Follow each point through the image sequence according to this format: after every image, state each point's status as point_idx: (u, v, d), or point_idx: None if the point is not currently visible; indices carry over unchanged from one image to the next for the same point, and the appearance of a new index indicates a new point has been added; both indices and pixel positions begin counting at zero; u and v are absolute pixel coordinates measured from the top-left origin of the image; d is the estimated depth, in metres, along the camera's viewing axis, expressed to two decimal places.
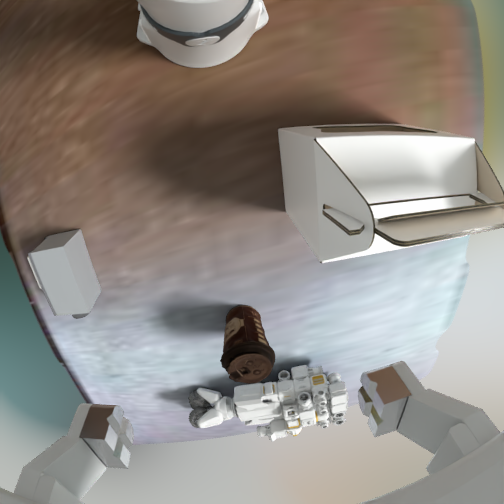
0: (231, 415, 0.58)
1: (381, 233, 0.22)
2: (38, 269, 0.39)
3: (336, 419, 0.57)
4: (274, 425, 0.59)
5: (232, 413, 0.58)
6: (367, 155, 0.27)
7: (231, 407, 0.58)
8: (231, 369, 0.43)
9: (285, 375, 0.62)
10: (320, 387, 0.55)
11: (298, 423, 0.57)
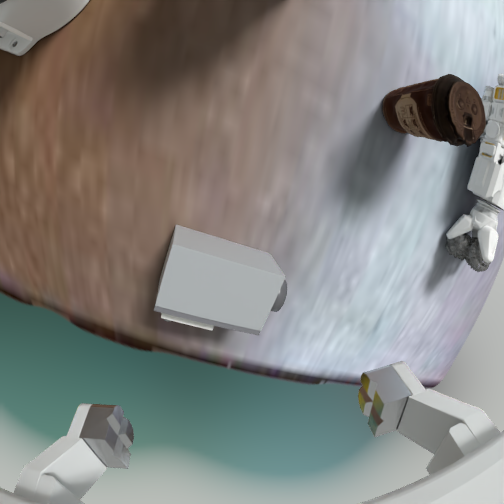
0: (495, 216, 0.36)
1: None
2: (183, 309, 0.31)
3: None
4: None
5: (494, 213, 0.36)
6: None
7: (487, 209, 0.36)
8: (460, 129, 0.23)
9: None
10: None
11: None
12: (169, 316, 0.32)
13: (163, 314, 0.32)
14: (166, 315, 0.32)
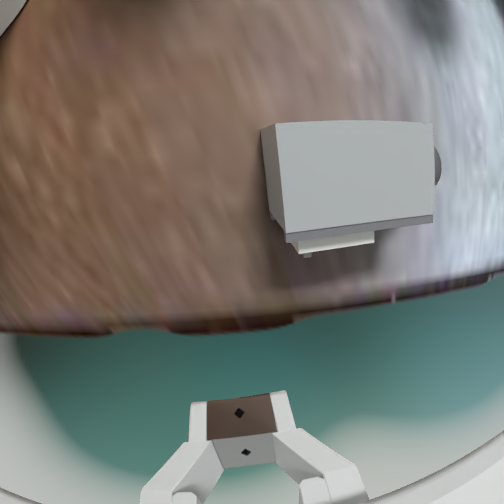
0: None
1: None
2: (328, 221, 0.20)
3: None
4: None
5: None
6: None
7: None
8: None
9: None
10: None
11: None
12: (310, 246, 0.21)
13: (300, 246, 0.21)
14: (305, 246, 0.21)
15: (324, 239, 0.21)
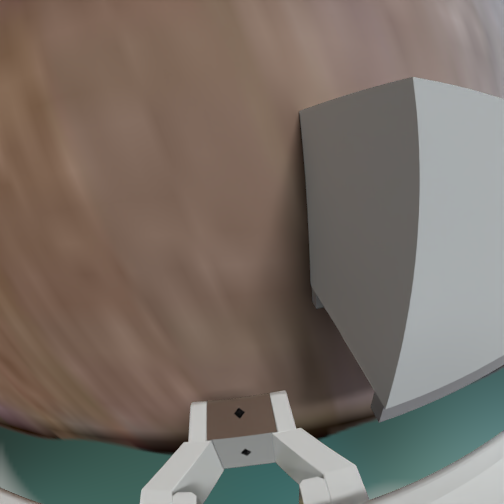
0: None
1: None
2: (475, 362, 0.06)
3: None
4: None
5: None
6: None
7: None
8: None
9: None
10: None
11: None
12: None
13: None
14: None
15: None
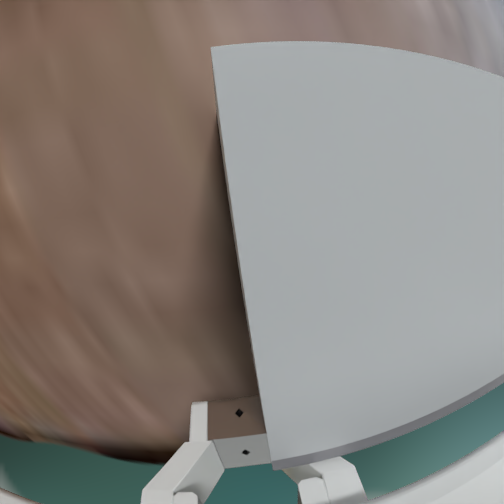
0: None
1: None
2: (404, 415, 0.05)
3: None
4: None
5: None
6: None
7: None
8: None
9: None
10: None
11: None
12: None
13: None
14: None
15: None
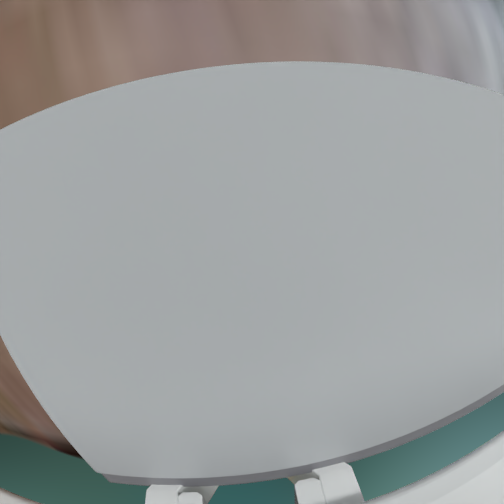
0: None
1: None
2: (215, 468, 0.05)
3: None
4: None
5: None
6: None
7: None
8: None
9: None
10: None
11: None
12: None
13: None
14: None
15: None
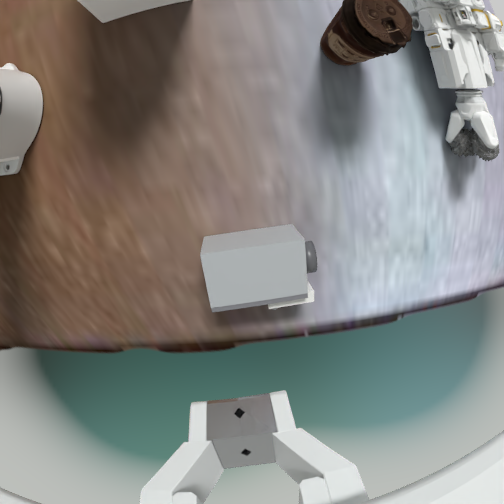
0: (479, 98, 0.30)
1: None
2: (234, 301, 0.37)
3: None
4: (490, 46, 0.25)
5: (476, 96, 0.30)
6: None
7: (467, 96, 0.30)
8: (385, 37, 0.22)
9: (418, 23, 0.30)
10: None
11: (480, 12, 0.22)
12: (275, 304, 0.38)
13: (269, 305, 0.38)
14: (272, 305, 0.38)
15: None
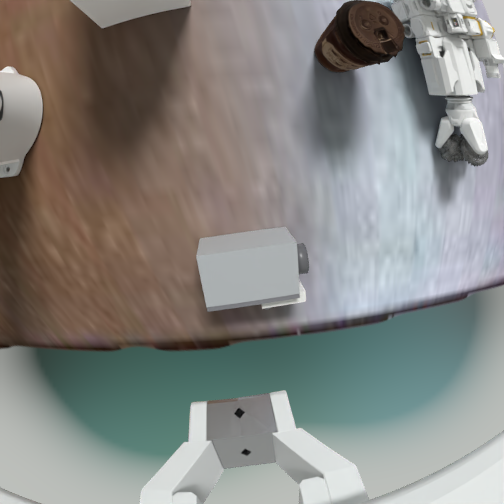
0: (469, 105, 0.32)
1: None
2: (229, 301, 0.38)
3: None
4: (482, 52, 0.27)
5: (466, 103, 0.32)
6: None
7: (457, 102, 0.32)
8: (377, 47, 0.24)
9: (410, 30, 0.32)
10: None
11: (473, 19, 0.23)
12: (268, 304, 0.40)
13: (263, 305, 0.40)
14: (265, 304, 0.40)
15: None
